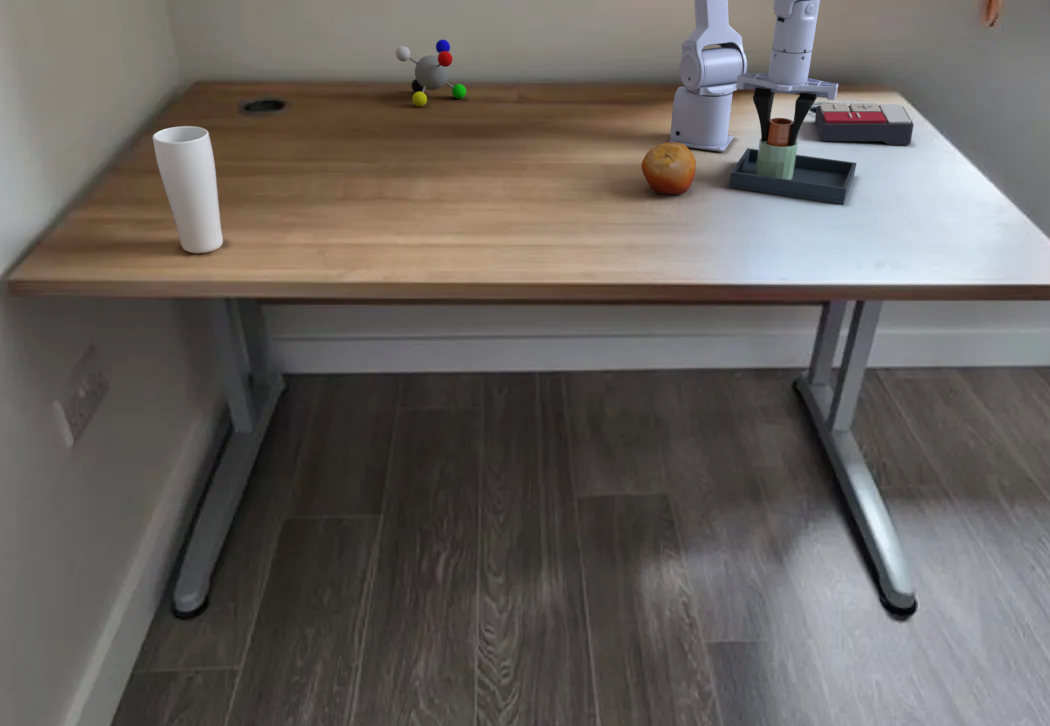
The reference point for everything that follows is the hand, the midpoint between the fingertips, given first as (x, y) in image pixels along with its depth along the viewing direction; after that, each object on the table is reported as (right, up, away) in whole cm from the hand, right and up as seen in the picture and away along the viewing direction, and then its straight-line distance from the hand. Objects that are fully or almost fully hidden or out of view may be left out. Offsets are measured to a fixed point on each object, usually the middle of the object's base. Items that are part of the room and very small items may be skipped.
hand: (778, 141), depth 149 cm
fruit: (-17, -8, -1) cm, 19 cm away
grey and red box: (+20, +8, +23) cm, 31 cm away
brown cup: (0, -1, +1) cm, 1 cm away
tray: (+3, -6, +3) cm, 7 cm away
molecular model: (-57, +18, +37) cm, 70 cm away
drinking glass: (-81, -20, -20) cm, 85 cm away
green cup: (0, -5, +3) cm, 6 cm away
